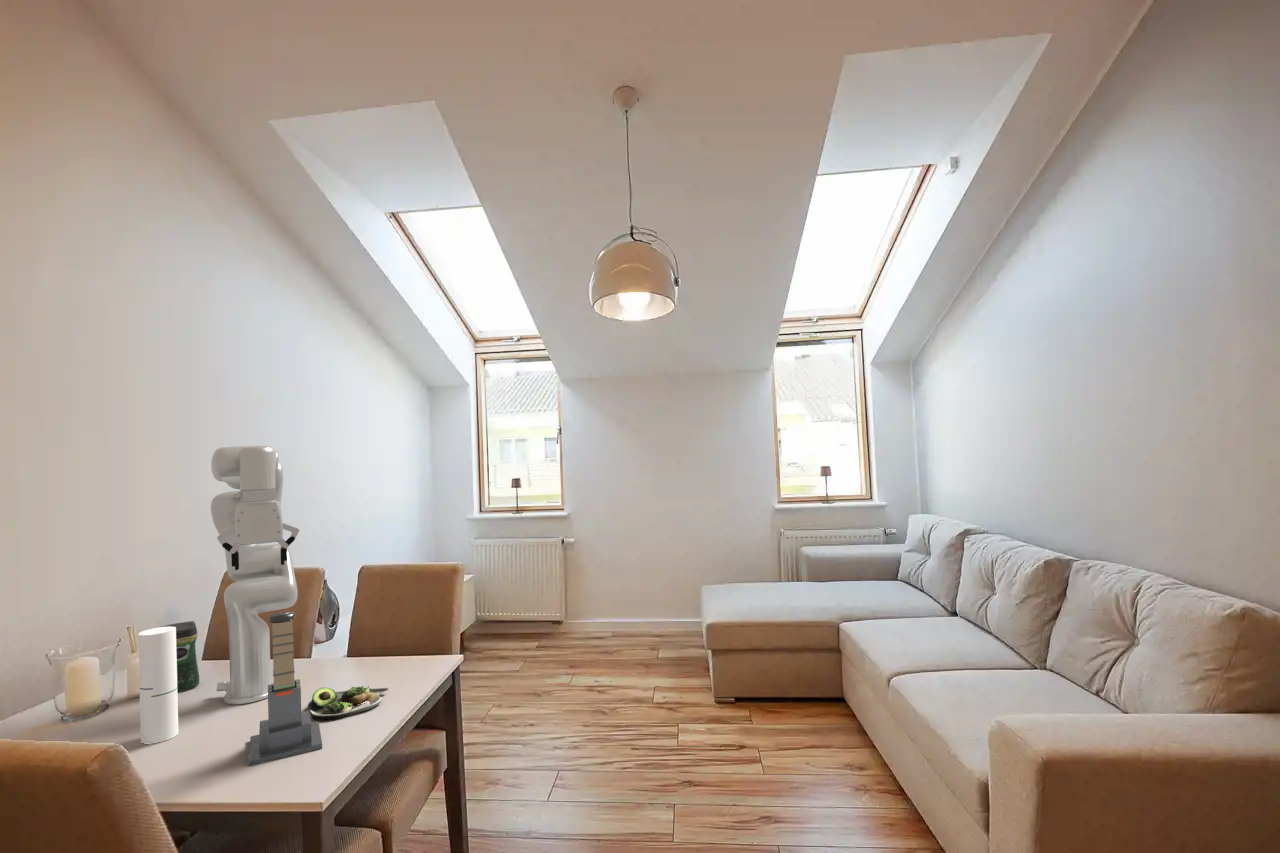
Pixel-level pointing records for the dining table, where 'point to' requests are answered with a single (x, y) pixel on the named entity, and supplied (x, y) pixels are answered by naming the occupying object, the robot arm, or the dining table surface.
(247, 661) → the robot arm
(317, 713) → the salad plate
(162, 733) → the cylindrical container
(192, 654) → the coffee jar
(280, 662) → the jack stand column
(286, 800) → the dining table surface
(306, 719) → the stand
